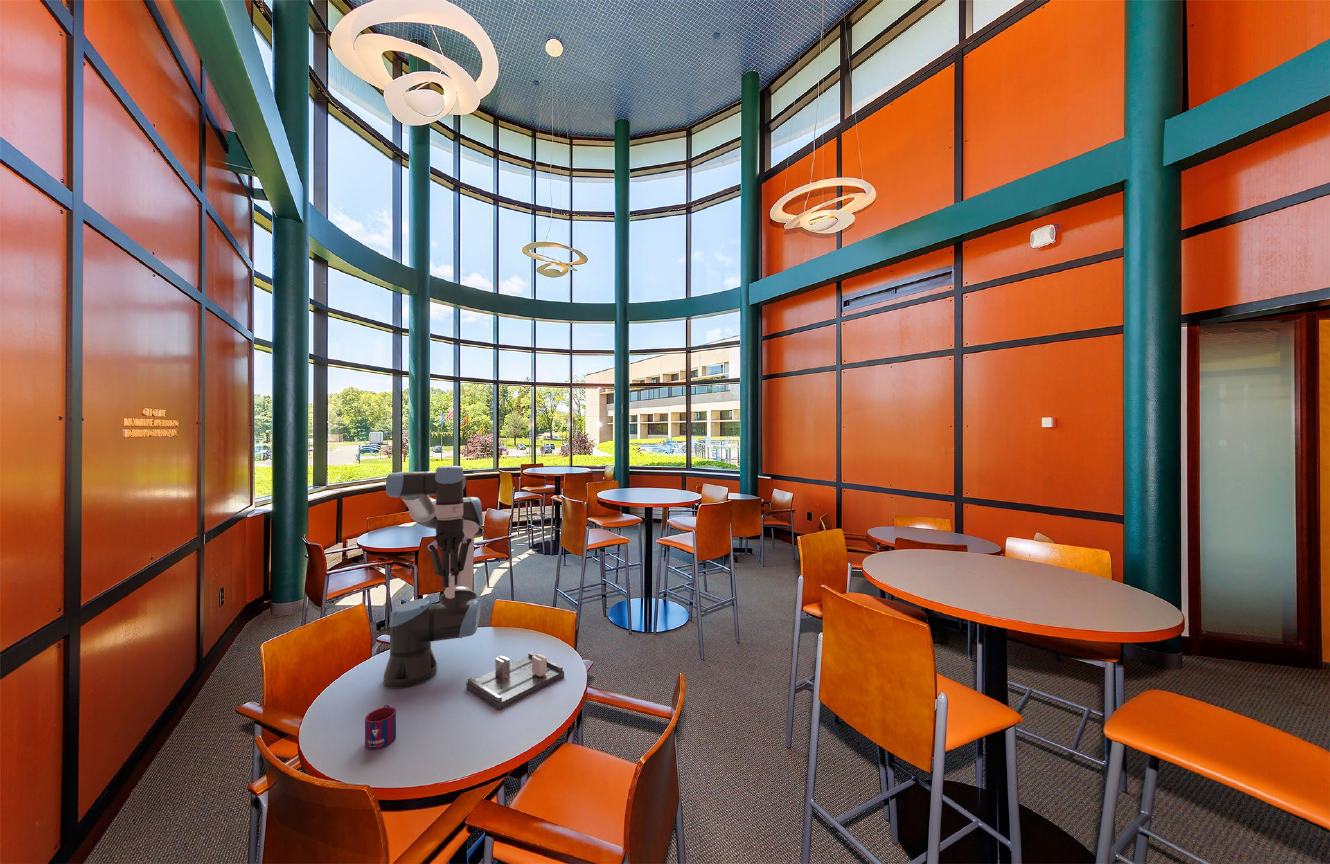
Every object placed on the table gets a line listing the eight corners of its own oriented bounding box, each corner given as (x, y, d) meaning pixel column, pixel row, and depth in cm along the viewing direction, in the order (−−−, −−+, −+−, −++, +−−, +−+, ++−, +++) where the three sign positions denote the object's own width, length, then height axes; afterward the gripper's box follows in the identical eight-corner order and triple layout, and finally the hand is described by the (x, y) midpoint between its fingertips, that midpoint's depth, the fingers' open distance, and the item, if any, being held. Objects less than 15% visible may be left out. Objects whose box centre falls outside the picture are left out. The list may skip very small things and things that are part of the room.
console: (466, 689, 141) (466, 664, 141) (530, 660, 159) (530, 639, 159) (499, 710, 130) (498, 683, 130) (564, 677, 148) (564, 653, 148)
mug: (360, 751, 113) (360, 723, 114) (377, 726, 123) (377, 701, 123) (390, 747, 115) (390, 720, 115) (404, 723, 125) (404, 698, 125)
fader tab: (532, 672, 146) (532, 655, 146) (538, 669, 148) (538, 652, 148) (540, 676, 144) (539, 659, 144) (546, 673, 146) (546, 656, 146)
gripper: (433, 522, 131) (433, 606, 130) (476, 516, 141) (477, 593, 141) (421, 519, 135) (421, 600, 135) (464, 513, 146) (464, 589, 145)
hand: (449, 597), depth 138 cm, fingers closed
